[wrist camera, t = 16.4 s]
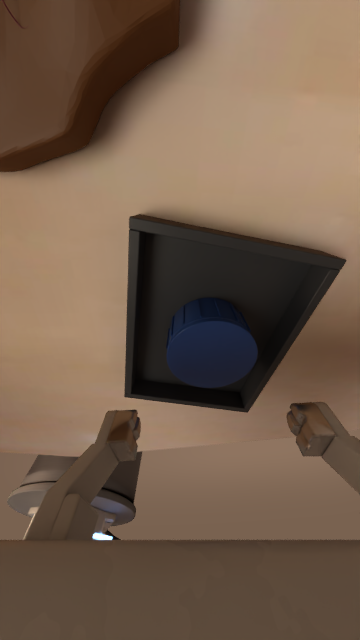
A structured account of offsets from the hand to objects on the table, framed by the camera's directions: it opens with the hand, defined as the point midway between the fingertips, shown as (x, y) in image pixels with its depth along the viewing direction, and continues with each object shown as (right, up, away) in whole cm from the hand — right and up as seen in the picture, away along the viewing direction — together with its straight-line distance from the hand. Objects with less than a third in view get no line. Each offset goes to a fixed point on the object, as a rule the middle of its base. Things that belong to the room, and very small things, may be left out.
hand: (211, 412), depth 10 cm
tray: (0, +4, +6) cm, 7 cm away
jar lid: (0, +4, +5) cm, 7 cm away
